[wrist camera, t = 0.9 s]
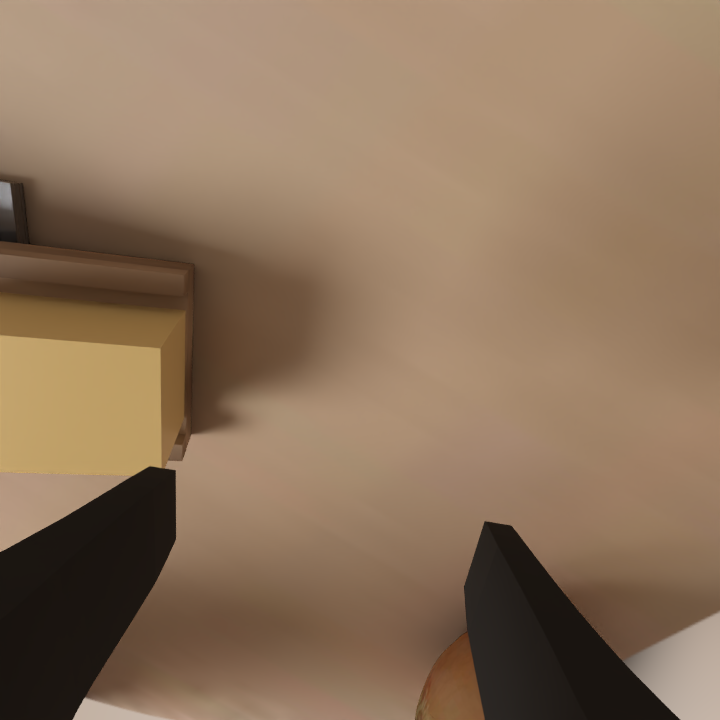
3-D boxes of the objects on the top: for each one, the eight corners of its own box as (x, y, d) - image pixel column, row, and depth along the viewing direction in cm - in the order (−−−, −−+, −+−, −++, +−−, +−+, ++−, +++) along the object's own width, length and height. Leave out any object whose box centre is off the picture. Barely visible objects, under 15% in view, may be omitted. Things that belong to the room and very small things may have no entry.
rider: (184, 418, 19) (161, 476, 16) (-18, 407, 18) (-94, 469, 14) (185, 310, 18) (160, 348, 14) (-38, 288, 16) (-132, 324, 12)
